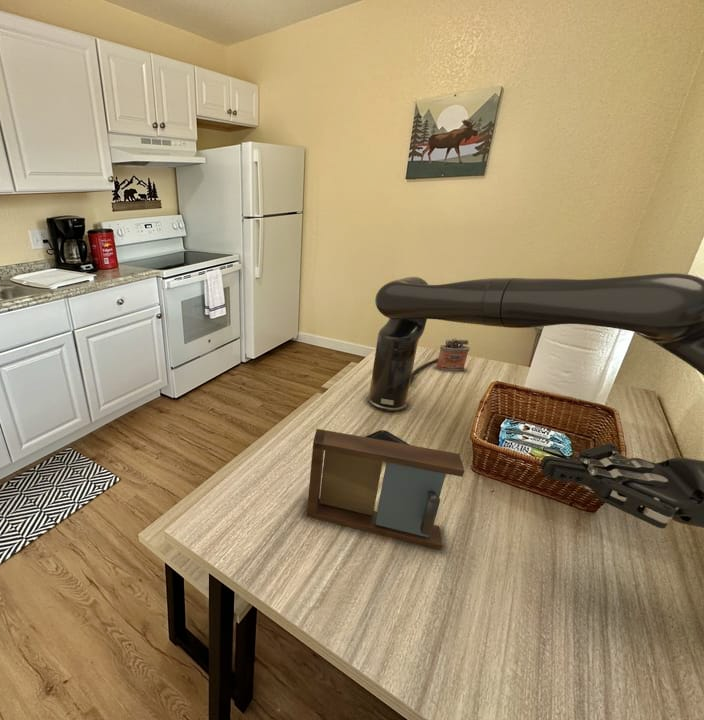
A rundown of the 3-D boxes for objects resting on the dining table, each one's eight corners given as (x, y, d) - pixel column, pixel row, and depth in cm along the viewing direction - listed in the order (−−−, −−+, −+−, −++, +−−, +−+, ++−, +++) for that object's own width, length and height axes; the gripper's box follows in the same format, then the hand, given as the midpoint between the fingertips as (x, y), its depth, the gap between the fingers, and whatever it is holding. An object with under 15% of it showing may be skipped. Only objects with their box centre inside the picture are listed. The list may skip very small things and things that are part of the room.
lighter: (437, 370, 119) (444, 340, 115) (434, 366, 122) (440, 336, 118) (465, 372, 118) (473, 341, 114) (461, 367, 121) (468, 337, 117)
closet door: (375, 520, 65) (387, 458, 59) (428, 533, 62) (445, 469, 57) (375, 538, 61) (387, 474, 56) (430, 552, 59) (449, 486, 53)
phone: (383, 428, 89) (444, 465, 77) (382, 432, 90) (443, 469, 78) (359, 439, 86) (419, 478, 74) (358, 443, 86) (418, 483, 74)
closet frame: (309, 500, 71) (316, 428, 64) (437, 531, 64) (459, 453, 58) (306, 516, 67) (313, 442, 61) (441, 550, 61) (464, 470, 54)
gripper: (702, 437, 47) (534, 414, 53) (805, 517, 36) (577, 476, 42) (675, 484, 50) (518, 458, 56) (761, 572, 39) (555, 527, 45)
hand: (544, 466), depth 49 cm, fingers closed
